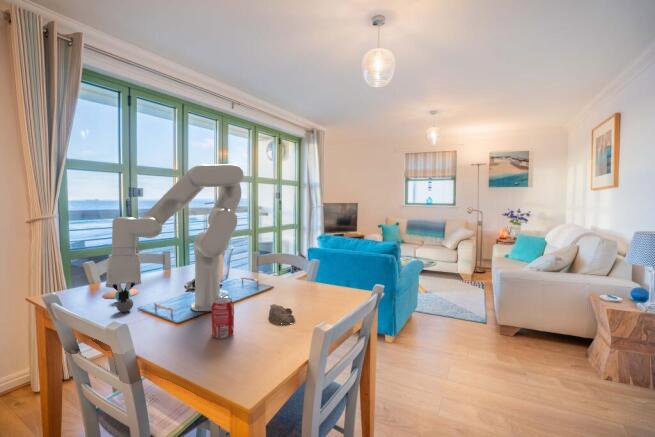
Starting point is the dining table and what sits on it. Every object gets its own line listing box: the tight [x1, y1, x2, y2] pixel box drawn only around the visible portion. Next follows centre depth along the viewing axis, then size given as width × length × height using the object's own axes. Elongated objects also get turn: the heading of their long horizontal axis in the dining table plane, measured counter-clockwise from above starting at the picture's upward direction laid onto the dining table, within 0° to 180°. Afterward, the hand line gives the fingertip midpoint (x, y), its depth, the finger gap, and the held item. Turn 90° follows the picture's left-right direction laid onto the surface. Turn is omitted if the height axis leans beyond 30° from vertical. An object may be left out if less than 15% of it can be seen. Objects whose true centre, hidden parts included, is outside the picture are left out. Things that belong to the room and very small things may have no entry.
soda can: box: [211, 296, 235, 340], centre depth 100 cm, size 7×7×12 cm
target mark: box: [102, 288, 140, 300], centre depth 139 cm, size 14×14×1 cm
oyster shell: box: [267, 303, 296, 325], centre depth 115 cm, size 10×12×5 cm
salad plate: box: [184, 277, 223, 292], centre depth 156 cm, size 19×18×5 cm
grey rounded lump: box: [115, 297, 134, 313], centre depth 118 cm, size 6×6×6 cm
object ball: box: [115, 288, 131, 302], centre depth 129 cm, size 6×6×6 cm
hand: (123, 301), depth 109 cm, fingers closed
